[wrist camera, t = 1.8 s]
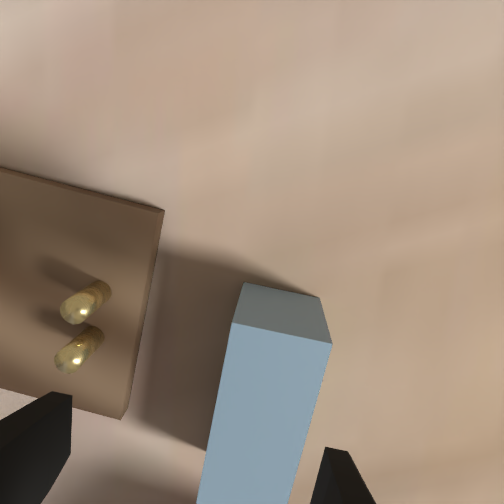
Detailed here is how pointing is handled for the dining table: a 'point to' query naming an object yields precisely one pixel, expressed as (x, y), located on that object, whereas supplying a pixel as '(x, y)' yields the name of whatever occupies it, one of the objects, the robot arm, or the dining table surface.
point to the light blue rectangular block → (265, 397)
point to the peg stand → (73, 290)
